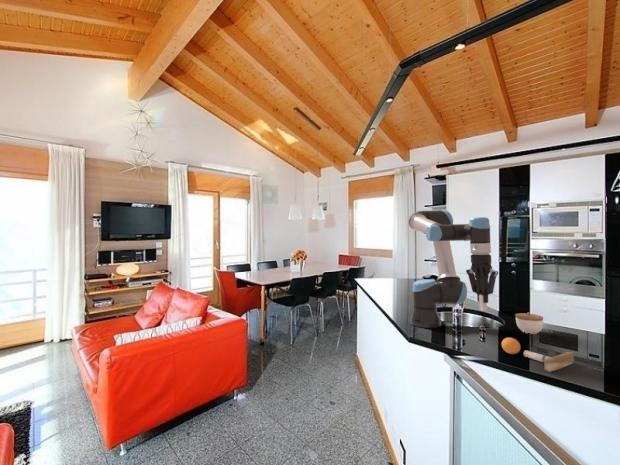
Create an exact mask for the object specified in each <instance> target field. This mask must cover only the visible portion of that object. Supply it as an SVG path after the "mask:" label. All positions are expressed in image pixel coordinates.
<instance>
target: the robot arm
mask: <svg viewBox="0 0 620 465" xmlns="http://www.w3.org/2000/svg"><path fill="white" fill-rule="evenodd" d="M453 219H454V217H453V216H452V214H451V212H450V211H448V210H442V209H438V210H419V211H416V212H413V213H412V214H411V215H410V216H409V219H408V226H409V227H410V228H411V230H413V231H415V232H421V233H423V234H424V235H425V237H426V240H427V241H429V242H433V248H434V255H435V259H436V265H437V274H438V277H437V279H436V280H435V279H432V278H430V279H428V278H427V279H421V280H416V281H414V282H413V283H412V305H413V306H412V308H413V309H412V313H411V316H410V320H409V321H410V325H412V326H414V327H418V328H424V329H434V328H435V329H437V328H440V327H441V326H442V320H441V318H440V315H439V312H438V311H437V310H438V308H437V307H438V306H437V305H459V303H462V304H463V303H464V302H465V301H466V300H467V296H468V288H467V284H466V282H464V281H462V280H461V277H460V276H459V275H457V271H456V267H455V261H454V257H453V251H452V245H451V242H452V241H453V242H454V241H456V242H458V241H460V242H461V241H463V242H467V241H468V242H469V247H470V253H471V255H470V263H471V266H470V268H469V269H466V270H465V272H466V274H467V275H468V280H469V283H470V287H471V291H472V292H473V293H475V294H476V296H477V298H476V299H477V302H478V305H479V306H478V307H479V312H480V311H481V312H484V311H488V303H489V295H493V293H494V289H495V284H496V281H497V280H496V279H497V276H498V275H499V272H498V271H497V270H495V269H493V266H492V255H491V253H492V246H491V225H490V219H489V218H488V217H485V216H483V217H481V216H480V217H471V218H469V222H468V223H464V224H463V223H460V224H459V223H458V224H457V223H456V224H455V223H454V220H453Z"/></svg>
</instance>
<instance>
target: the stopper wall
mask: <svg viewBox="0 0 620 465" xmlns="http://www.w3.org/2000/svg"><path fill="white" fill-rule="evenodd" d="M574 360H575V358H574V352H571V351H566V352H563V353H560V354H557V355H554V356H552V358H549V359H546V360H544V363H543V364H544V365H543V366H544V368H543V369H544V370H546V371H549V372H550V373H552V372H551V371H553V372H555V371H558V370H560V369H562V368H565V367H567V366H571V365H572V364H574ZM546 371H545V372H546ZM549 372H548V373H549Z"/></svg>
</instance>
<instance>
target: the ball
mask: <svg viewBox="0 0 620 465" xmlns="http://www.w3.org/2000/svg"><path fill="white" fill-rule="evenodd" d="M501 348H502V349H503V351H504V352H505V353H507V354H510V355H516V354H518V353H520V351H521V344H520V342H519V341H518V340H517V339H516V338H513V337H505V338H503V340H502V341H501Z"/></svg>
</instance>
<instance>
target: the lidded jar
mask: <svg viewBox="0 0 620 465" xmlns="http://www.w3.org/2000/svg"><path fill="white" fill-rule="evenodd" d="M514 316H515V323H516V326H517V328H518V329H519V330H520V331H521V332H522V333H524V332H525V333H524V334H528V333H530V334H529V335H538V334H539V332H541V330H543V327H544V326H543V325H544V316H542V315H539V314H535V313H534V314H533V313H531V312H530V311H527V313H525V312H524V313H522V312H521V313H516V314H514ZM537 333H538V334H537Z"/></svg>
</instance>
